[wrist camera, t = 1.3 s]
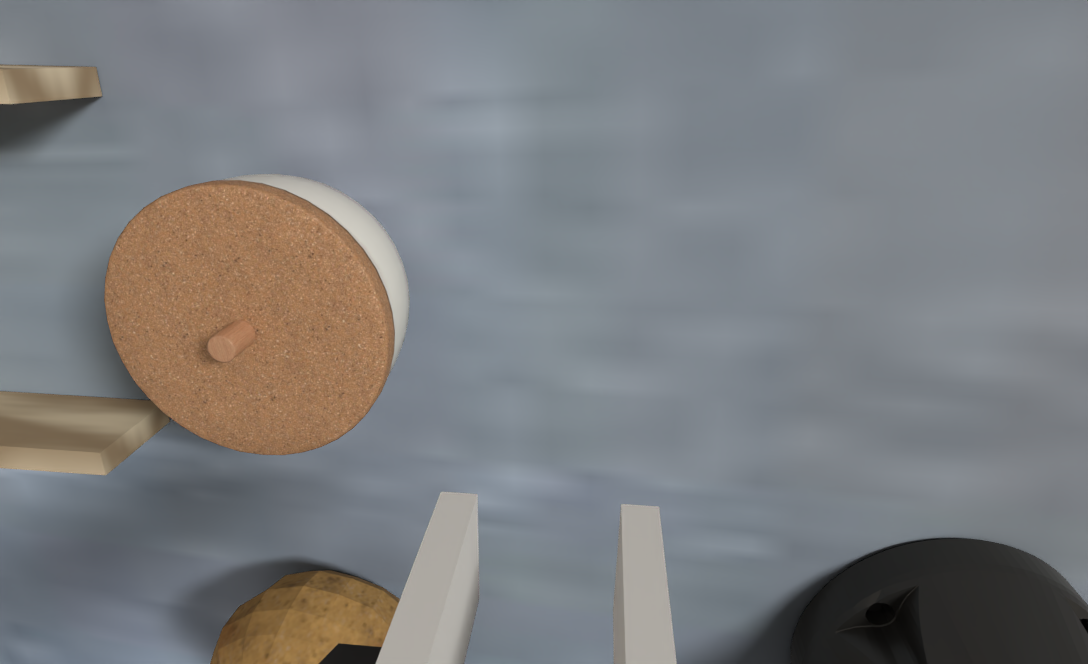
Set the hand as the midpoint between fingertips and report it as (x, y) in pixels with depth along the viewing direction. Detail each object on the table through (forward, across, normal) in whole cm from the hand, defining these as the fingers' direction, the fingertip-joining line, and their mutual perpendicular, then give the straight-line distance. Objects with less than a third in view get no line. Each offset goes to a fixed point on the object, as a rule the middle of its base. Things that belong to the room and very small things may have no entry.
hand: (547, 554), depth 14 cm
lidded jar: (+19, +12, 0) cm, 22 cm away
